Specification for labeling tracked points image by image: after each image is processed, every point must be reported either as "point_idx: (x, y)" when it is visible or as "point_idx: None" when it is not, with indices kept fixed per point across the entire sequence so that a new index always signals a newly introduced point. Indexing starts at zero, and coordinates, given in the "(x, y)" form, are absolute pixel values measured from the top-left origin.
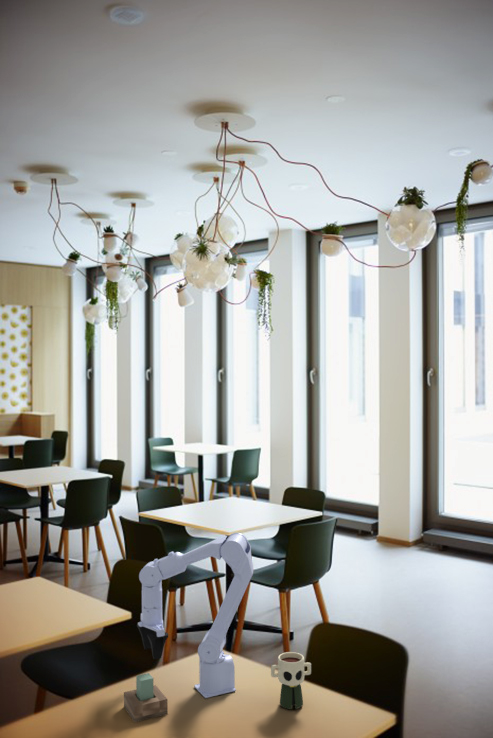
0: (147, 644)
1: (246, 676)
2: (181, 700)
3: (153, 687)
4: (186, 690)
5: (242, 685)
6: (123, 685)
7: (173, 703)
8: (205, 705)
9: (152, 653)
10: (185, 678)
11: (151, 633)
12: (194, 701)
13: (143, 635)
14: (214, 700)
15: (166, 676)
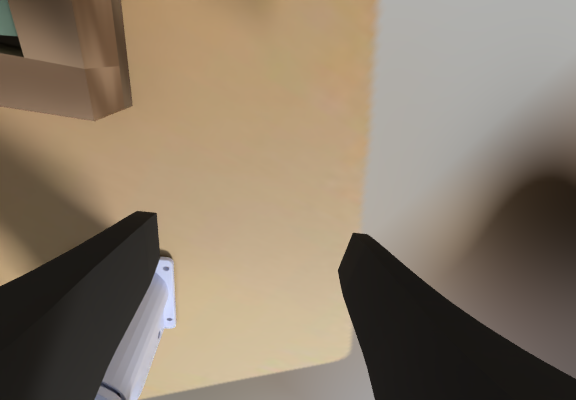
0: (358, 271)
1: (170, 357)
2: (86, 185)
3: (62, 93)
4: (161, 230)
5: None
6: (348, 51)
7: (68, 149)
8: (15, 230)
9: (117, 232)
10: (246, 260)
11: (384, 383)
12: (61, 216)
13: (420, 326)
14: None
15: (297, 225)
